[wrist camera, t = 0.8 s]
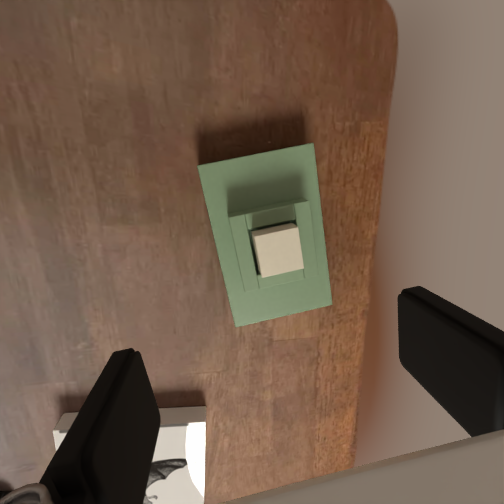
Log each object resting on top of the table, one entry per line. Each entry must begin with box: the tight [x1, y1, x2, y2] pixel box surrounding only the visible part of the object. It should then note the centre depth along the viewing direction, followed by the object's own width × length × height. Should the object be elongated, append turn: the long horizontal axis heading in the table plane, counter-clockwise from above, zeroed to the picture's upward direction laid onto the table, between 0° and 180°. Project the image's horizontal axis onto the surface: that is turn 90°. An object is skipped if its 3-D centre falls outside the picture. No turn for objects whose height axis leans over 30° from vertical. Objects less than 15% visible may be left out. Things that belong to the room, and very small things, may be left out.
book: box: [53, 406, 206, 504], centre depth 31 cm, size 23×14×2 cm, turn 176°
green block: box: [197, 143, 332, 327], centre depth 24 cm, size 14×9×4 cm, turn 11°
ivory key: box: [251, 223, 304, 278], centre depth 21 cm, size 3×3×2 cm
